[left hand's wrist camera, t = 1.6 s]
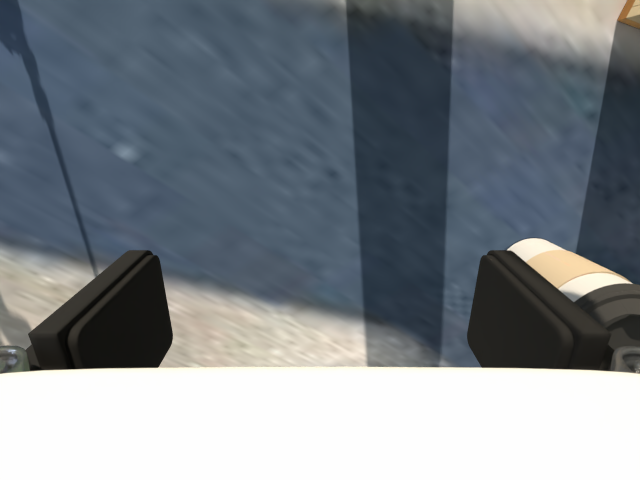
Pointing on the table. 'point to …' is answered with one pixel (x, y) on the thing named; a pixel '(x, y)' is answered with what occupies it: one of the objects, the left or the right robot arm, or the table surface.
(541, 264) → the coffee cup
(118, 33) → the table surface
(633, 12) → the tan long block
